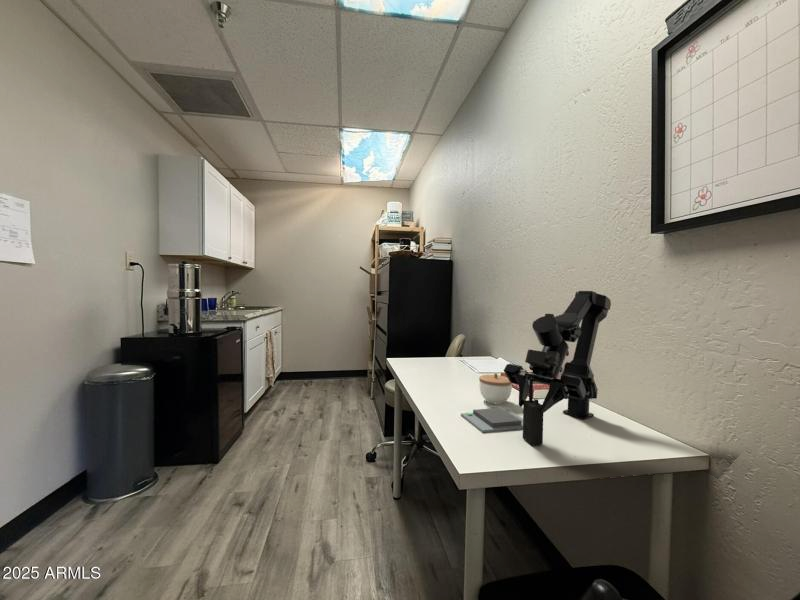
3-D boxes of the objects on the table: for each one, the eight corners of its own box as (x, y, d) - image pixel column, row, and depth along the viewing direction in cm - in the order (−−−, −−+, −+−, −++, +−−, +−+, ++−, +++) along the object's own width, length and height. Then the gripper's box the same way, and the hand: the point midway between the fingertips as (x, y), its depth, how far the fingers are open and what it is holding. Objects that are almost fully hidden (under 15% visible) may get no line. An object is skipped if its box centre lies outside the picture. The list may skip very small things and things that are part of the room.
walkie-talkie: (543, 444, 77) (545, 381, 77) (530, 445, 76) (532, 382, 76) (532, 436, 81) (534, 376, 81) (520, 436, 81) (521, 377, 81)
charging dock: (507, 411, 99) (508, 405, 99) (534, 427, 88) (534, 421, 88) (460, 415, 95) (460, 409, 95) (482, 432, 83) (482, 425, 83)
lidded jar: (513, 408, 103) (514, 378, 102) (478, 404, 105) (480, 376, 105) (509, 398, 113) (510, 371, 113) (477, 395, 115) (478, 368, 115)
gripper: (508, 333, 88) (484, 380, 81) (583, 342, 74) (562, 400, 67) (521, 359, 93) (499, 405, 86) (593, 372, 80) (575, 428, 72)
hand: (530, 409), depth 78 cm, fingers closed on walkie-talkie, 5 cm apart
